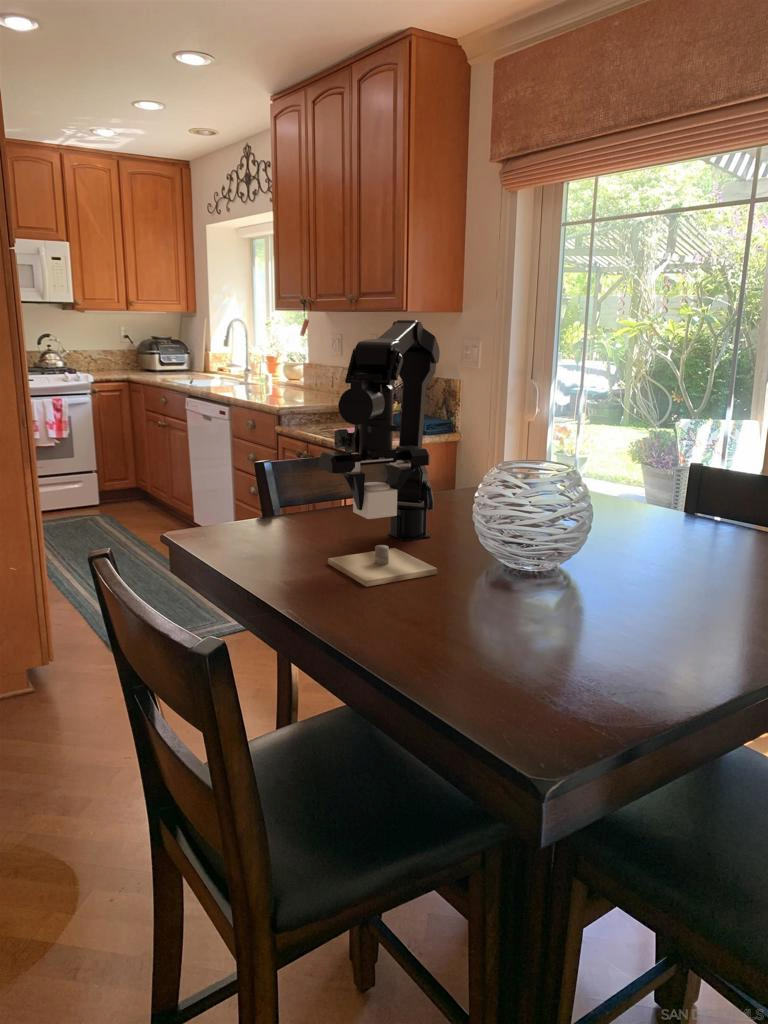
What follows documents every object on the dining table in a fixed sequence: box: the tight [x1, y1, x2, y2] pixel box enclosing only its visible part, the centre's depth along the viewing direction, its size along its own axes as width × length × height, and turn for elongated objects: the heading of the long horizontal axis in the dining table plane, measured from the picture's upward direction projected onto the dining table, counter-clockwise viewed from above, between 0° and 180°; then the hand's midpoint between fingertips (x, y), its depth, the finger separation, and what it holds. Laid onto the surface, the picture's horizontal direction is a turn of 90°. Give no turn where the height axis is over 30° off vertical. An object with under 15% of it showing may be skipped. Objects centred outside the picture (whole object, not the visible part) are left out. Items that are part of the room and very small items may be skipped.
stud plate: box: [327, 544, 438, 587], centre depth 132 cm, size 14×14×4 cm
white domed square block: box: [352, 481, 397, 520], centre depth 130 cm, size 6×6×5 cm
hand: (374, 507), depth 130 cm, fingers closed on white domed square block, 6 cm apart
